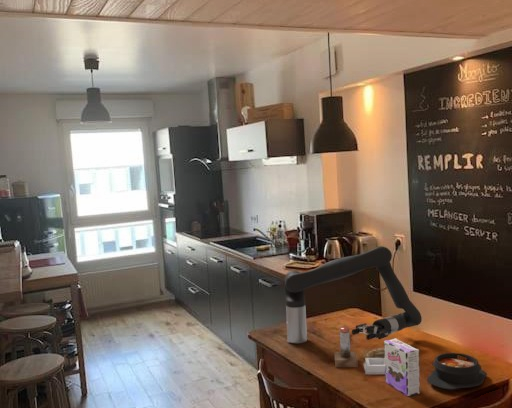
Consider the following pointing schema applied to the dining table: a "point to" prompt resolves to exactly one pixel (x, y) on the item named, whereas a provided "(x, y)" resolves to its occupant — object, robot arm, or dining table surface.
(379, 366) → the socket
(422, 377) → the dining table surface
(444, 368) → the casserole
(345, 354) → the canister
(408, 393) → the candy box
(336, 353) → the mount
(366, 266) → the robot arm
